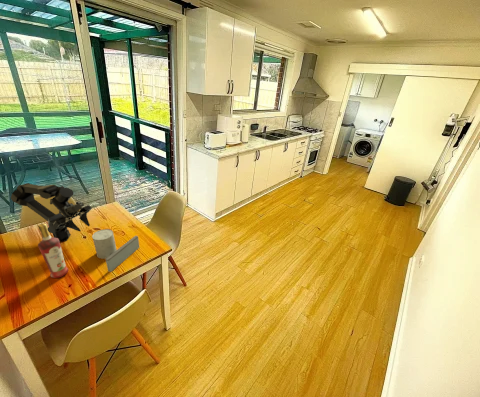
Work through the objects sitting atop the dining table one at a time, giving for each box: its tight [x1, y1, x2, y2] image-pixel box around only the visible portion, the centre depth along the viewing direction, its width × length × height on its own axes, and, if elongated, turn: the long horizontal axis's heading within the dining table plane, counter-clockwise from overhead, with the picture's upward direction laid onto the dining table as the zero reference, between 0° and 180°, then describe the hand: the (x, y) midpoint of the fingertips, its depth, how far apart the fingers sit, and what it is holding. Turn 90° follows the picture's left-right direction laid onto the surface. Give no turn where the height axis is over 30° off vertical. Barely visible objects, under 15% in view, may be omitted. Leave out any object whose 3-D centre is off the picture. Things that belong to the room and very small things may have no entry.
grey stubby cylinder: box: [91, 228, 118, 260], centre depth 120 cm, size 10×10×12 cm
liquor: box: [37, 223, 69, 279], centre depth 101 cm, size 7×7×28 cm
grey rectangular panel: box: [104, 235, 140, 273], centre depth 118 cm, size 2×21×8 cm, turn 163°
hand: (84, 228), depth 120 cm, fingers open, 5 cm apart
